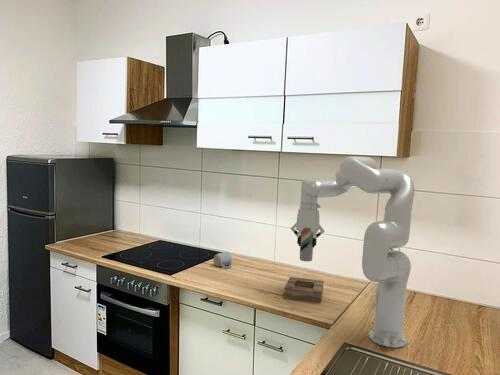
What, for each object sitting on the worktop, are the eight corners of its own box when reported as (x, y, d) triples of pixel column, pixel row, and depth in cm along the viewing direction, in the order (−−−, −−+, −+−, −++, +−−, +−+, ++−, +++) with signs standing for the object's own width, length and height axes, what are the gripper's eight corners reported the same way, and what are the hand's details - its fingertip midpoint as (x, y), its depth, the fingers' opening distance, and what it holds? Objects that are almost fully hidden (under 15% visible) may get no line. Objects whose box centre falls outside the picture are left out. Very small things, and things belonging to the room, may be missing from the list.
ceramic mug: (212, 265, 215) (212, 251, 214) (224, 263, 220) (224, 250, 219) (223, 270, 207) (223, 256, 206) (235, 268, 212) (235, 254, 211)
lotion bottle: (303, 257, 177) (305, 214, 175) (314, 260, 173) (316, 216, 172) (297, 259, 173) (299, 216, 171) (308, 262, 169) (310, 217, 167)
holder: (320, 303, 165) (321, 292, 164) (283, 298, 169) (284, 287, 168) (323, 291, 180) (323, 280, 180) (289, 286, 184) (289, 276, 184)
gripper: (328, 206, 172) (326, 246, 174) (290, 204, 177) (288, 242, 178) (327, 209, 165) (325, 250, 167) (288, 206, 169) (286, 246, 171)
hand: (306, 245), depth 172 cm, fingers closed on lotion bottle, 5 cm apart
